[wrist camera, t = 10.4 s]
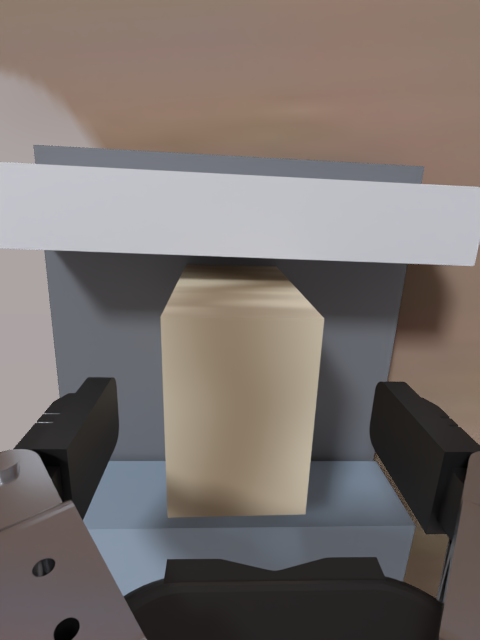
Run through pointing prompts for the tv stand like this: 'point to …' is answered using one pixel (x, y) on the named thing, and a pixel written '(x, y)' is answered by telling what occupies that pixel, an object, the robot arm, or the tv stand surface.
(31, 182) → the panel
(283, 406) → the birch block
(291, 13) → the tv stand surface
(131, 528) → the vise jaw
